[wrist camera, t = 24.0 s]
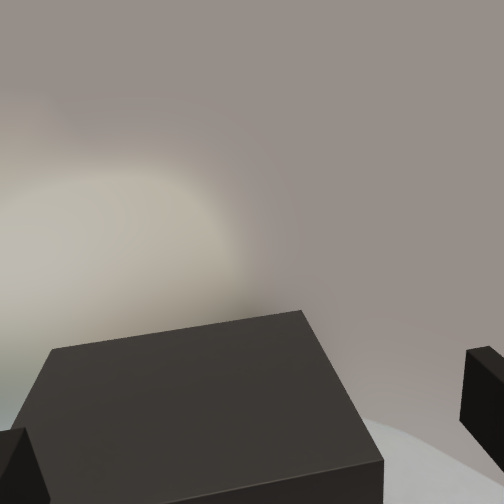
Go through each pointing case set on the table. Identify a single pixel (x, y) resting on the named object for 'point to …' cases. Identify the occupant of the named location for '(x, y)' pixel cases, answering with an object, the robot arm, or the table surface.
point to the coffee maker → (201, 420)
